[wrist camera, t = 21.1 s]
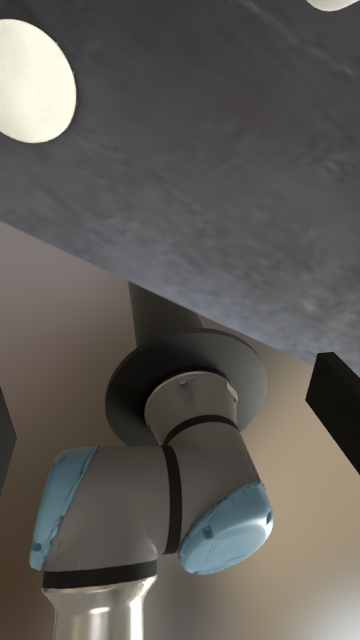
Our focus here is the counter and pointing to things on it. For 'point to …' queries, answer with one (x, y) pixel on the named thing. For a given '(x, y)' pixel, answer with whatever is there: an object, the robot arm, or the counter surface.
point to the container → (330, 4)
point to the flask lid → (34, 84)
